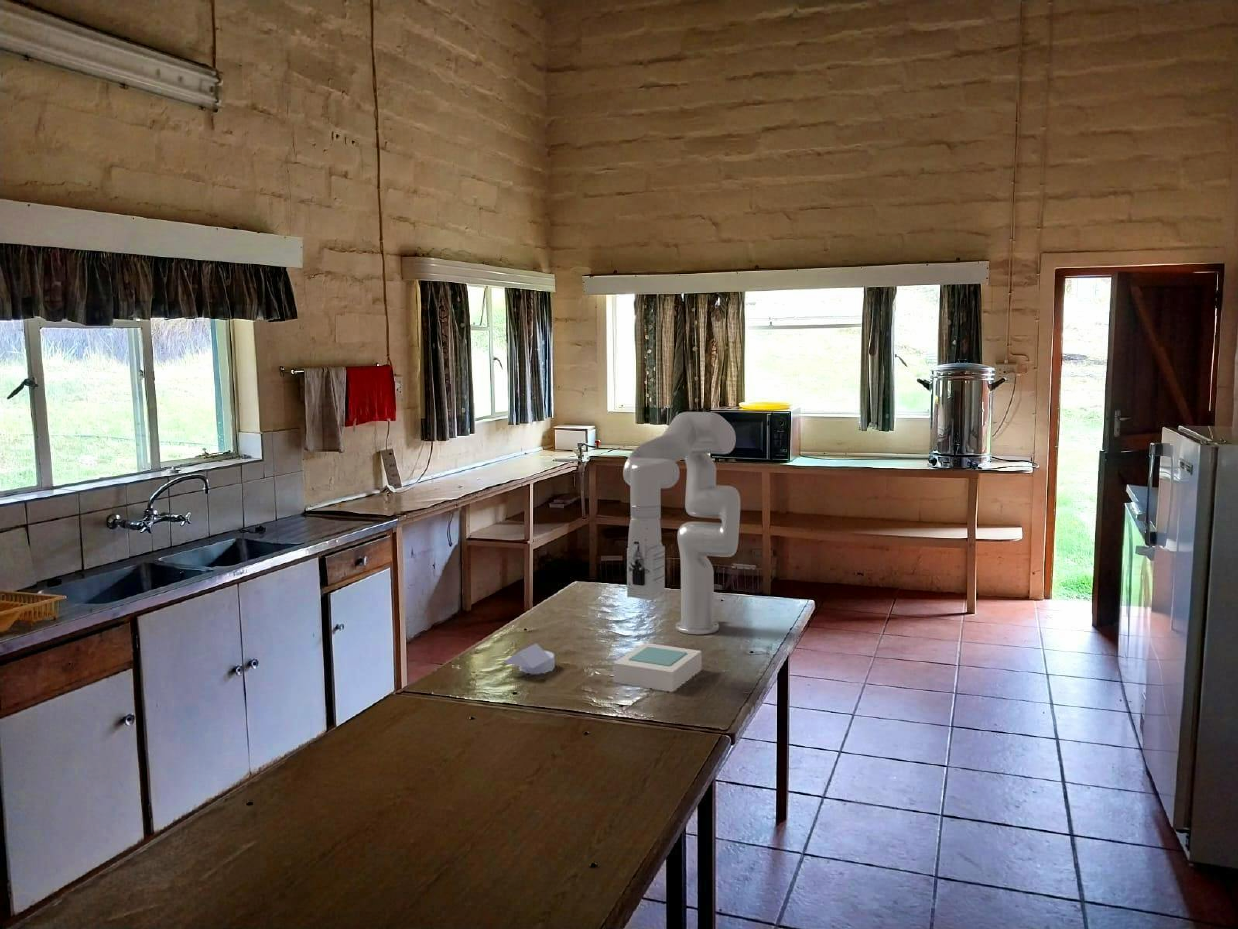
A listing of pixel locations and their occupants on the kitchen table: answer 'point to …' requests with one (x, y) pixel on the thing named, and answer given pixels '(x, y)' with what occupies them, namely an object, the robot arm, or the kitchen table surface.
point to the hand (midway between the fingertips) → (646, 580)
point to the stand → (657, 667)
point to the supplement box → (649, 575)
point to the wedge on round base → (533, 660)
